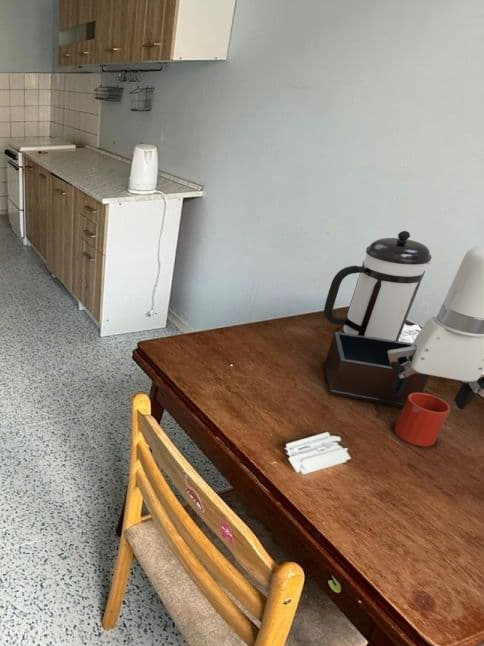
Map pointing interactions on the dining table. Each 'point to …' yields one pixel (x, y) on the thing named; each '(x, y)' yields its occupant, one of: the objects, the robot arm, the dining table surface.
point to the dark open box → (367, 370)
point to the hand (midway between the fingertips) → (427, 398)
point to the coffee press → (382, 288)
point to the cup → (422, 419)
